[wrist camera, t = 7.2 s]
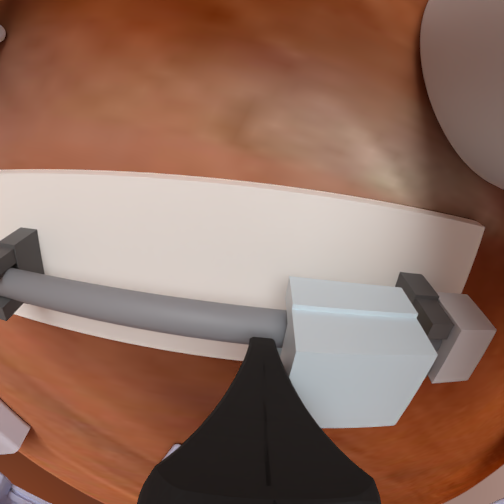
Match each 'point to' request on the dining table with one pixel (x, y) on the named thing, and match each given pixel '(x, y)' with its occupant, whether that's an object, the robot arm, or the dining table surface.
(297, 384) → the light grey sliding block
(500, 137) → the cylinder vase
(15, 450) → the charger
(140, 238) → the white slide rail base
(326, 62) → the dining table surface
